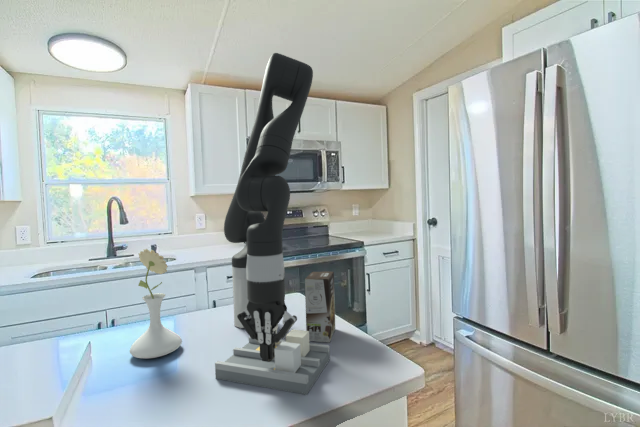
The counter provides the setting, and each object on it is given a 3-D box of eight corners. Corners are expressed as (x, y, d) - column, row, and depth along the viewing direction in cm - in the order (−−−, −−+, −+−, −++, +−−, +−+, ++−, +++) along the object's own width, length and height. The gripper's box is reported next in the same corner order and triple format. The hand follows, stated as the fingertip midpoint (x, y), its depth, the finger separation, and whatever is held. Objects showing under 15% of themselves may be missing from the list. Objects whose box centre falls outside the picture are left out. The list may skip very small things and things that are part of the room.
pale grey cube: (275, 371, 66) (274, 349, 66) (283, 362, 69) (282, 341, 69) (293, 373, 65) (293, 351, 65) (300, 365, 68) (300, 343, 68)
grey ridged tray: (215, 378, 68) (214, 363, 68) (251, 348, 82) (250, 335, 82) (306, 394, 62) (306, 377, 62) (329, 359, 75) (329, 345, 75)
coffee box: (330, 343, 84) (329, 279, 83) (305, 341, 85) (303, 278, 84) (336, 328, 93) (334, 270, 92) (313, 327, 94) (311, 270, 93)
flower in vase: (190, 350, 82) (185, 248, 80) (140, 369, 73) (134, 255, 72) (167, 336, 90) (163, 244, 89) (120, 351, 82) (115, 250, 81)
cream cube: (286, 355, 72) (285, 335, 72) (293, 348, 76) (292, 329, 76) (303, 358, 71) (302, 337, 71) (309, 350, 74) (309, 331, 74)
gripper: (226, 278, 66) (229, 363, 67) (287, 282, 62) (289, 374, 63) (247, 270, 73) (249, 347, 74) (303, 273, 69) (305, 356, 70)
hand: (268, 359), depth 68 cm, fingers closed
